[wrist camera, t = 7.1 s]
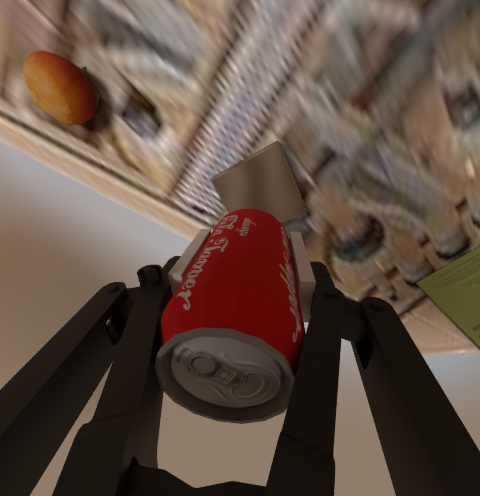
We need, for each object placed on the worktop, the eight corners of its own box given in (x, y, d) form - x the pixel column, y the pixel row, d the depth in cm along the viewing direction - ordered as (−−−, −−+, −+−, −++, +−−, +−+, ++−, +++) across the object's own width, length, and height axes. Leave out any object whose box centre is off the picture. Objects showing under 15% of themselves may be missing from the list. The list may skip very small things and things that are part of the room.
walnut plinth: (277, 140, 32) (278, 140, 29) (304, 205, 36) (308, 212, 33) (215, 175, 36) (209, 179, 32) (246, 231, 40) (243, 240, 36)
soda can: (304, 230, 17) (357, 378, 7) (262, 284, 20) (253, 447, 10) (236, 190, 17) (174, 283, 6) (202, 251, 19) (119, 389, 9)
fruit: (119, 94, 31) (61, 107, 26) (107, 125, 37) (59, 140, 32) (74, 31, 28) (2, 33, 24) (70, 75, 34) (12, 84, 30)
